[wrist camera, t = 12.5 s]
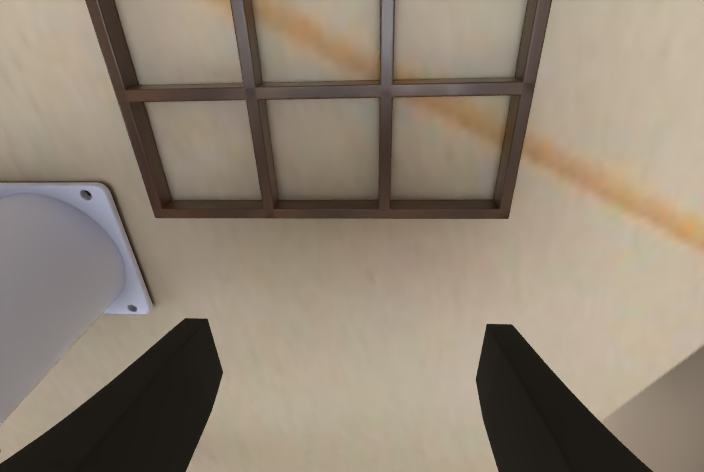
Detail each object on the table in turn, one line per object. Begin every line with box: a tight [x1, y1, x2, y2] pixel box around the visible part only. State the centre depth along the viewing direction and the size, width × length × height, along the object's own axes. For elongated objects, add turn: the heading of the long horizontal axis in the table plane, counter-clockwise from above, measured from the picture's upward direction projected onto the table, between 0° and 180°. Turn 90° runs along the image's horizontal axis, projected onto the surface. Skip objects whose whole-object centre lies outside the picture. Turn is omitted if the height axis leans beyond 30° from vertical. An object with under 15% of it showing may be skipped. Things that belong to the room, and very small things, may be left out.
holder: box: [85, 0, 552, 219], centre depth 15 cm, size 16×11×1 cm
